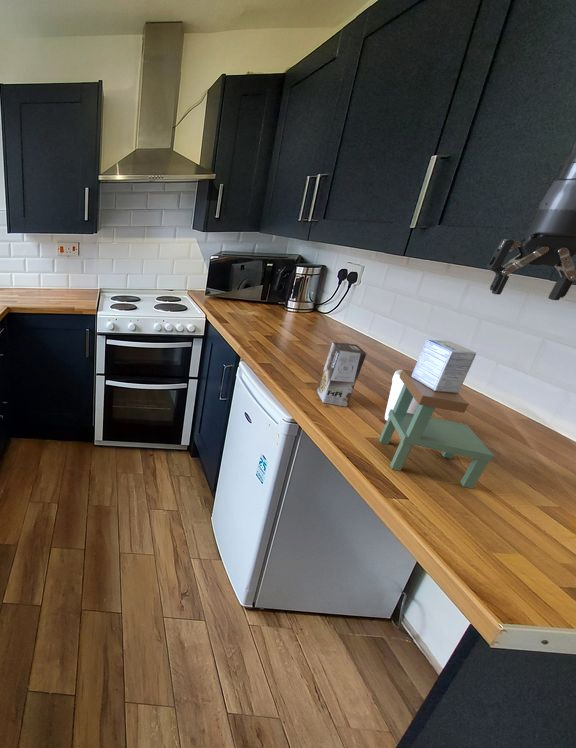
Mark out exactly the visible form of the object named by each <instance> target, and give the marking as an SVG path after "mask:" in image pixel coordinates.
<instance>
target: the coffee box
mask: <svg viewBox="0 0 576 748" xmlns="http://www.w3.org/2000/svg"><path fill="white" fill-rule="evenodd" d="M366 356H367V352H366V351H364V350H363V349H362V348H361V347H360V346H359V345H358V344H355V343H347V342H336V341H332V343H331V345H330V349H329V351H328V355H327V358H326V361H325V365H324V367H323V370H322V373H321V377H320V380H319V383H318V386H317V389H316V392H317V394H318V396H319V399H320V400H321V402H322V403H323V404H328V405H334V406H339V407H345V408H346V407H347V406H348V404H349V402H350V399H351V397H352V394H353V391H354V388H355V386H356V383H357V380H358V377H359V374H360V372H361V370H362V367H363V364H364V362H365V359H366Z"/></svg>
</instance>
